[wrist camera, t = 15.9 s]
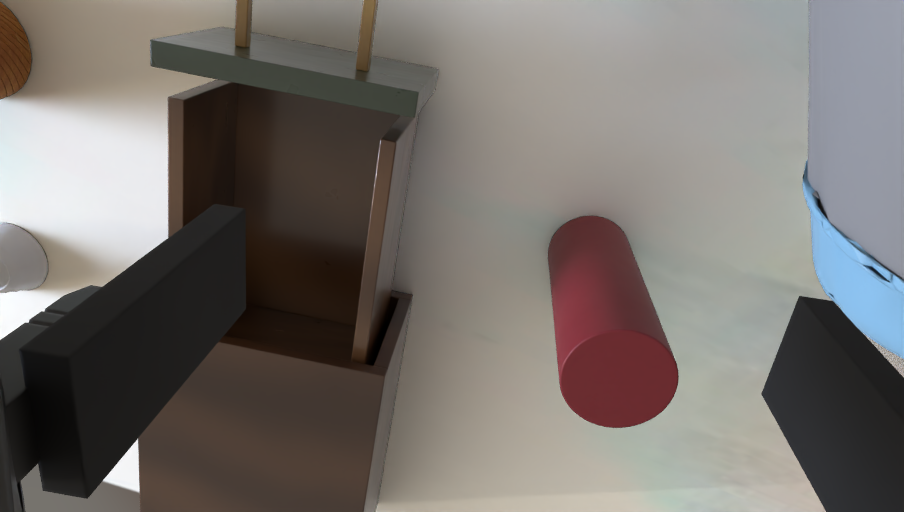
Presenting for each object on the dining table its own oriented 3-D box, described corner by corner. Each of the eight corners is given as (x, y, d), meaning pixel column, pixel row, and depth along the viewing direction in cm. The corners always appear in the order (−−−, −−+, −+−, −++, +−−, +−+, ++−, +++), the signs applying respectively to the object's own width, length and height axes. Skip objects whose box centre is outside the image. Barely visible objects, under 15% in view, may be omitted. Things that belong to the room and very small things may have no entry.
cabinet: (212, 254, 43) (134, 325, 35) (413, 294, 43) (385, 376, 34) (206, 468, 51) (141, 571, 42) (377, 504, 51) (347, 615, 42)
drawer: (224, -70, 35) (147, -81, 28) (454, -26, 34) (436, -26, 27) (214, 298, 44) (154, 361, 37) (395, 335, 44) (371, 406, 36)
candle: (633, 216, 40) (686, 333, 27) (625, 290, 42) (670, 432, 29) (550, 213, 40) (563, 327, 27) (545, 287, 42) (555, 425, 29)
